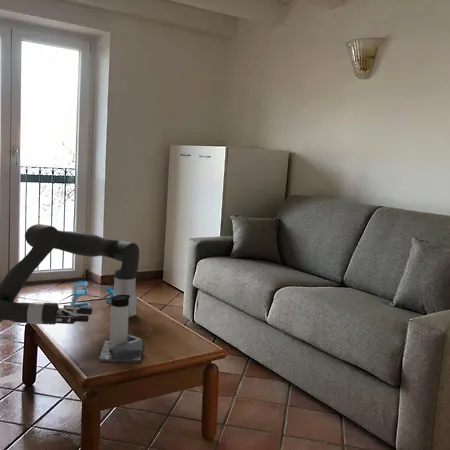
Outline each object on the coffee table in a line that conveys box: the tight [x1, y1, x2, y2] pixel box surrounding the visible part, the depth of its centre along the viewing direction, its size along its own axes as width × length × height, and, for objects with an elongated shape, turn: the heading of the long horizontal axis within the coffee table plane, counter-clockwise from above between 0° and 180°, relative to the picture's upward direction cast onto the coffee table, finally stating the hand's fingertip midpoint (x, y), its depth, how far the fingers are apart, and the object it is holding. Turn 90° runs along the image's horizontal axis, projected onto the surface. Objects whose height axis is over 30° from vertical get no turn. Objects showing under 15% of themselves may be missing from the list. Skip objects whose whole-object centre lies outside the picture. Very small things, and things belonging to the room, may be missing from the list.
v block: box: [98, 333, 144, 363], centre depth 186 cm, size 14×18×5 cm
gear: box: [105, 286, 114, 303], centre depth 248 cm, size 11×6×10 cm
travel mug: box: [109, 295, 130, 352], centre depth 185 cm, size 6×7×20 cm
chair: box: [70, 280, 90, 308], centre depth 237 cm, size 8×8×12 cm
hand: (90, 314), depth 184 cm, fingers open, 8 cm apart
